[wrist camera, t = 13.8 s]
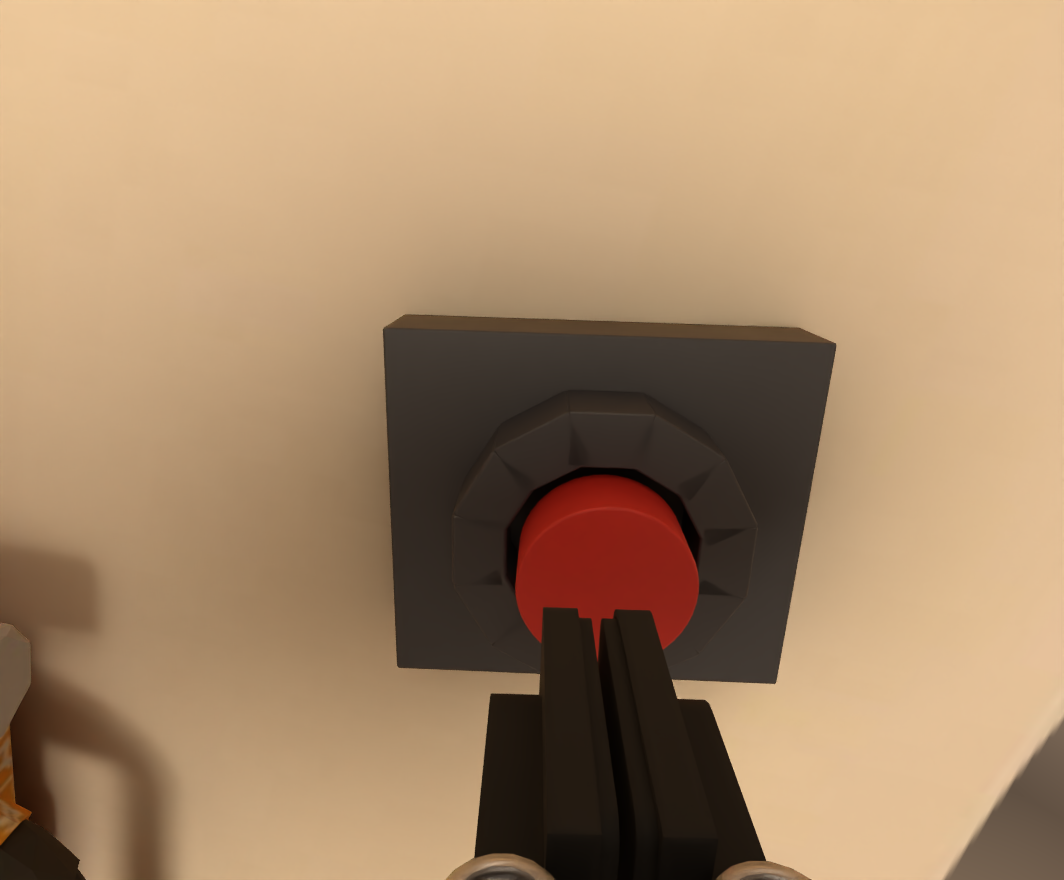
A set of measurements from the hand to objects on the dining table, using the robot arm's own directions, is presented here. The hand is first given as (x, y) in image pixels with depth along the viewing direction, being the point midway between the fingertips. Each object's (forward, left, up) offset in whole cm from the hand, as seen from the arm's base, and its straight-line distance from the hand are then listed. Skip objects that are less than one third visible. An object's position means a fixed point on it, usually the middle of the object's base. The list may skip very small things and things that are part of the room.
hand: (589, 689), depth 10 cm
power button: (0, 0, -5) cm, 5 cm away
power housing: (0, 0, -8) cm, 8 cm away
